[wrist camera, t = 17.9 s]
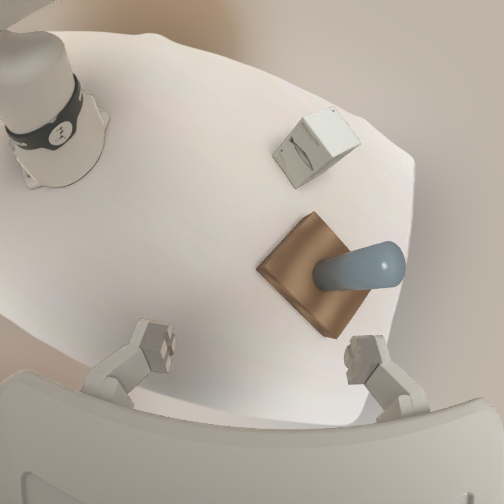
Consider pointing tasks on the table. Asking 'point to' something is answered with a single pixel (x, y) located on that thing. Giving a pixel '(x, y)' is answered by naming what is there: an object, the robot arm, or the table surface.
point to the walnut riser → (301, 280)
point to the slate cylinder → (361, 269)
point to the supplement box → (315, 146)
